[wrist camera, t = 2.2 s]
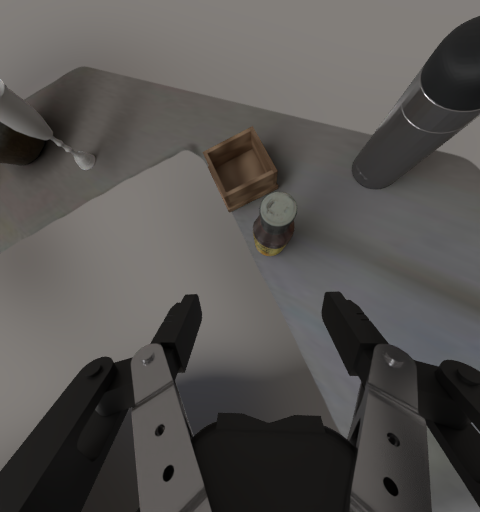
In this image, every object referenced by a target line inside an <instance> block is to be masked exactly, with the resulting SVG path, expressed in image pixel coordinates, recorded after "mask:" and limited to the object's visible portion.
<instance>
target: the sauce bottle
mask: <svg viewBox="0 0 480 512" xmlns="http://www.w3.org/2000/svg"><path fill="white" fill-rule="evenodd" d="M259 214H260V215H259V217H258V218H257V219H256V221H255V222H254V225H253V234H254V240H255V245H256V248H257V249H258V251H259V252H260V253H262V254H263V255H266V256H274V255H277V254H278V253H280V252H281V251H282V250H283V248H284V247H285V246H286V244H287V243H288V242H289V240H290V239H291V237H292V235H293V232H294V221H293V220H294V218H295V216H296V214H297V205H296V202H295V200H294V199H293V198H292V196H290V195H289V194H287V193H284V192H274V193H271V194H269V195H268V196H266V197H265V198H264V199H263V201H262V203H261V206H260V211H259Z"/></svg>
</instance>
